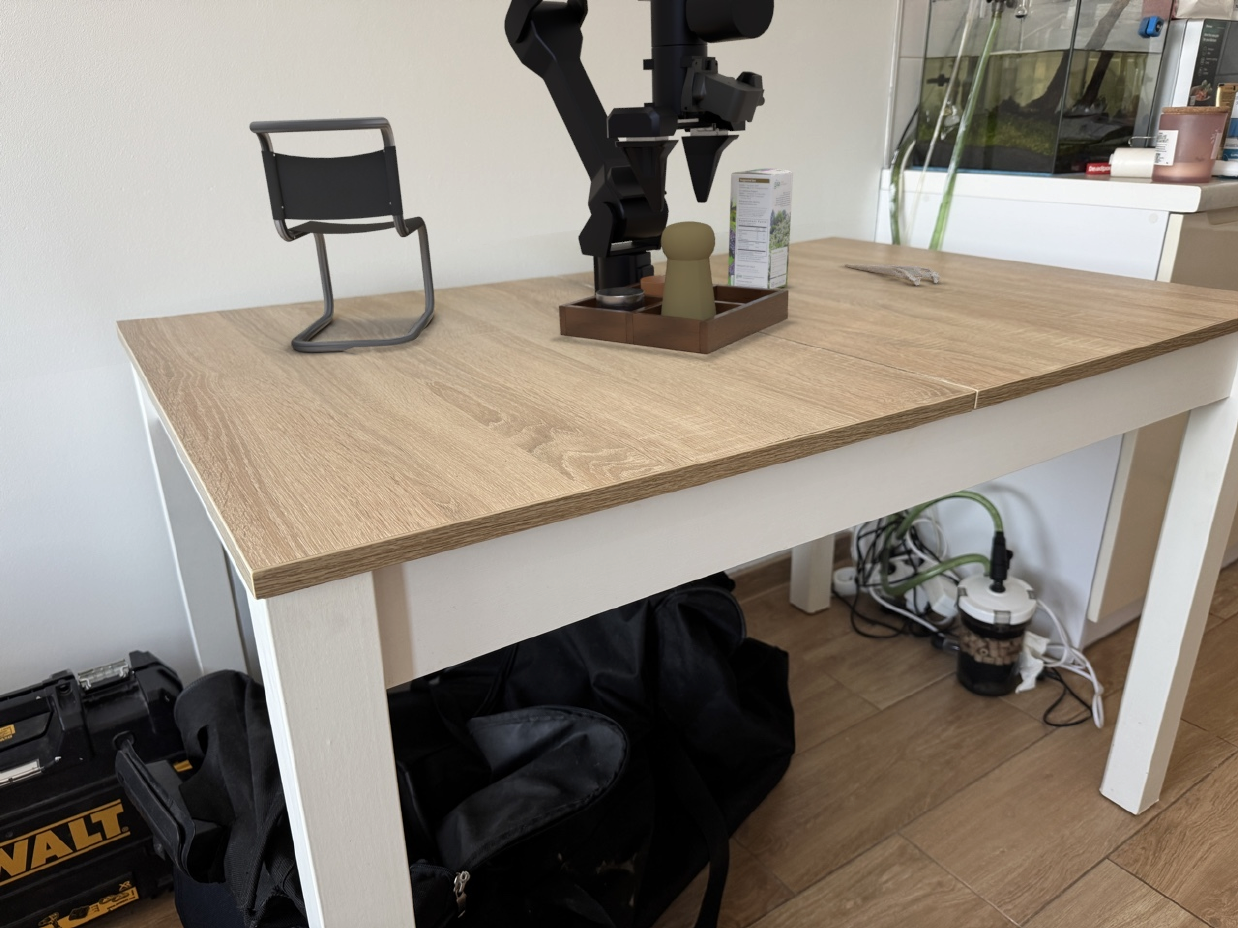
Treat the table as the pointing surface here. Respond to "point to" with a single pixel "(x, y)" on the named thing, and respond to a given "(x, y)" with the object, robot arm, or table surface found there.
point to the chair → (339, 208)
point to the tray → (678, 320)
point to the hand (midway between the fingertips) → (680, 206)
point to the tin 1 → (620, 299)
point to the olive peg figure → (688, 270)
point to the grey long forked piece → (900, 272)
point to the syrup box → (760, 228)
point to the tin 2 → (653, 284)
